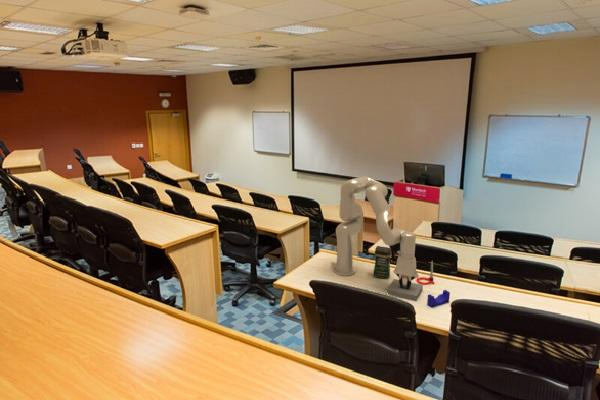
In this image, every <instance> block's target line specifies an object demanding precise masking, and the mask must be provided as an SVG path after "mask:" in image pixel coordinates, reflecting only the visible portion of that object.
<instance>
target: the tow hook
mask: <svg viewBox="0 0 600 400" xmlns="http://www.w3.org/2000/svg"><path fill="white" fill-rule="evenodd" d="M415 279H416V282H417V283H416V284H420V285H423V286H427V285H428V286H429V285H435V282H434V263H433V260H432V261H431V264H430V273H429V277H427V276H426V277H425V276H422V277H421V276H420V277H418V278H415ZM420 280H421V281H420ZM422 280H424V281H425V280H426V281H427V282H423V281H422Z"/></svg>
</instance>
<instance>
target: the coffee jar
mask: <svg viewBox="0 0 600 400" xmlns="http://www.w3.org/2000/svg"><path fill="white" fill-rule="evenodd" d="M374 256H375V261H374V268H373V277H374V278H375V277H376V278H379V279H383V280H384V279H389V278H390V276H391V263H390V262H391V256H392V248H391V247H388V246H379V245H377V246H376V247H375V250H374Z"/></svg>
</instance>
